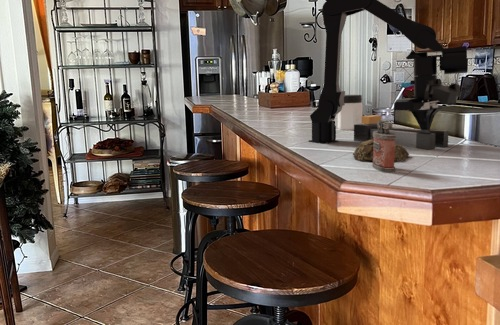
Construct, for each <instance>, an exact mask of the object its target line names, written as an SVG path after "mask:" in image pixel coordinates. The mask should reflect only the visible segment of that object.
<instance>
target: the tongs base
mask: <svg viewBox="0 0 500 325" xmlns="http://www.w3.org/2000/svg"><path fill="white" fill-rule="evenodd" d="M373 131H378V126H377V123H373V124H364V123H362V124H355V125H354V130H353V141H354V142H360V143H362V142H364V141H368V140H374V136H373ZM389 132H391V133H394V134H396V139H395V144H396V145H401V146H402V147H403V148H411V149H417V150H426V151H433V150H435V149H436V147H435V134H434V133H424V132H421V133H415V132H405V131H395V130H389Z"/></svg>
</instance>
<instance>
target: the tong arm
mask: <svg viewBox="0 0 500 325" xmlns="http://www.w3.org/2000/svg"><path fill="white" fill-rule="evenodd" d="M389 130H395V131H405V132H415V133H421V132H424V133H434V134H435V148H442V149H443V148H447V147H449V129H448V130H446V129H444V130H443V129H430V130H424V129H421V128H409V127H408V128H406V127H395V126H393V128H392V129H389Z"/></svg>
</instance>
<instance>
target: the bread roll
mask: <svg viewBox="0 0 500 325" xmlns="http://www.w3.org/2000/svg"><path fill="white" fill-rule="evenodd" d="M373 151H374V140H368V141H364V142H360V144H359V145H357V147H356V148H355V150H354V152H352V156H353V158H354V160H355V161H358V162H364V161H365V162H366V161H372V162H373ZM409 157H410V156H409V152H408V151H407V149H406V147H402V146H401V145H396V144H395V150H394V163H397V161H399V162H402V160H403V161H405V159H408V158H409Z"/></svg>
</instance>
